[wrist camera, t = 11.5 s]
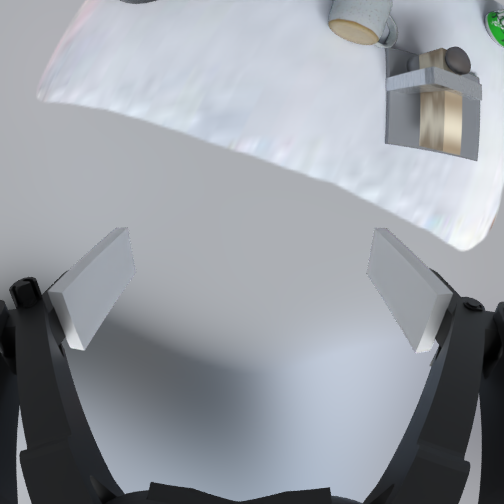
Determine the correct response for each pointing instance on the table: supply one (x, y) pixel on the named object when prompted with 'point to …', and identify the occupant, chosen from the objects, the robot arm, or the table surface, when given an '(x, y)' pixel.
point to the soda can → (496, 26)
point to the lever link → (442, 103)
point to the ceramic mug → (363, 21)
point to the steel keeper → (434, 83)
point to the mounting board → (408, 110)
